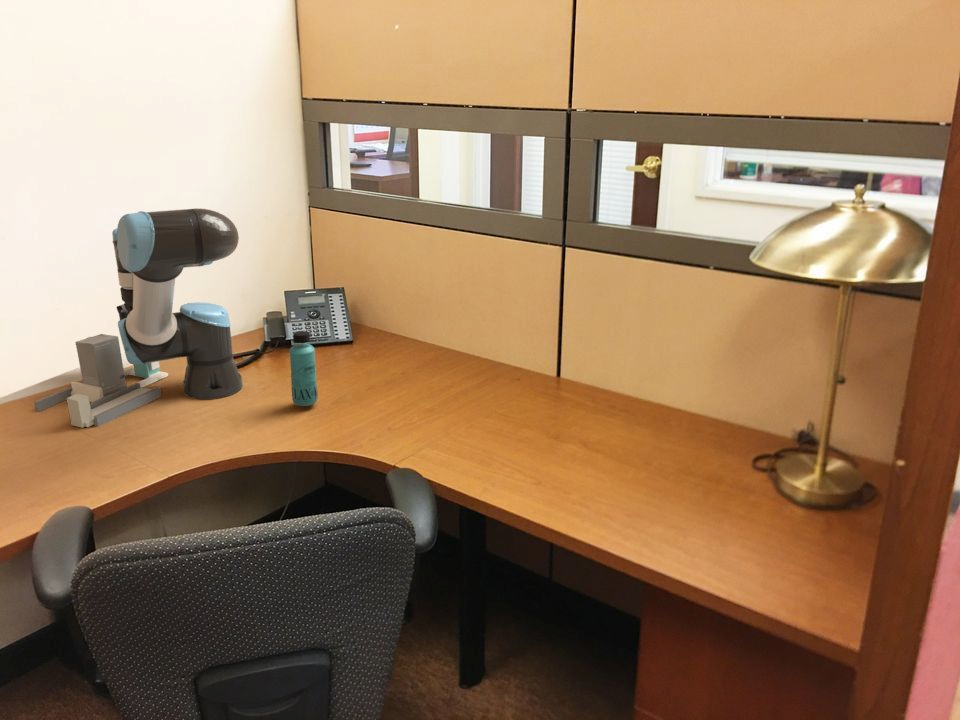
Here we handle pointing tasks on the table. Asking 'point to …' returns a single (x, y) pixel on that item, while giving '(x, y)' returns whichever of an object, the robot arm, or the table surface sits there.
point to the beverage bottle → (303, 370)
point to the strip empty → (85, 415)
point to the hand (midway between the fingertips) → (146, 366)
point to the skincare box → (101, 363)
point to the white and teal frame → (138, 370)
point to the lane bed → (109, 413)
